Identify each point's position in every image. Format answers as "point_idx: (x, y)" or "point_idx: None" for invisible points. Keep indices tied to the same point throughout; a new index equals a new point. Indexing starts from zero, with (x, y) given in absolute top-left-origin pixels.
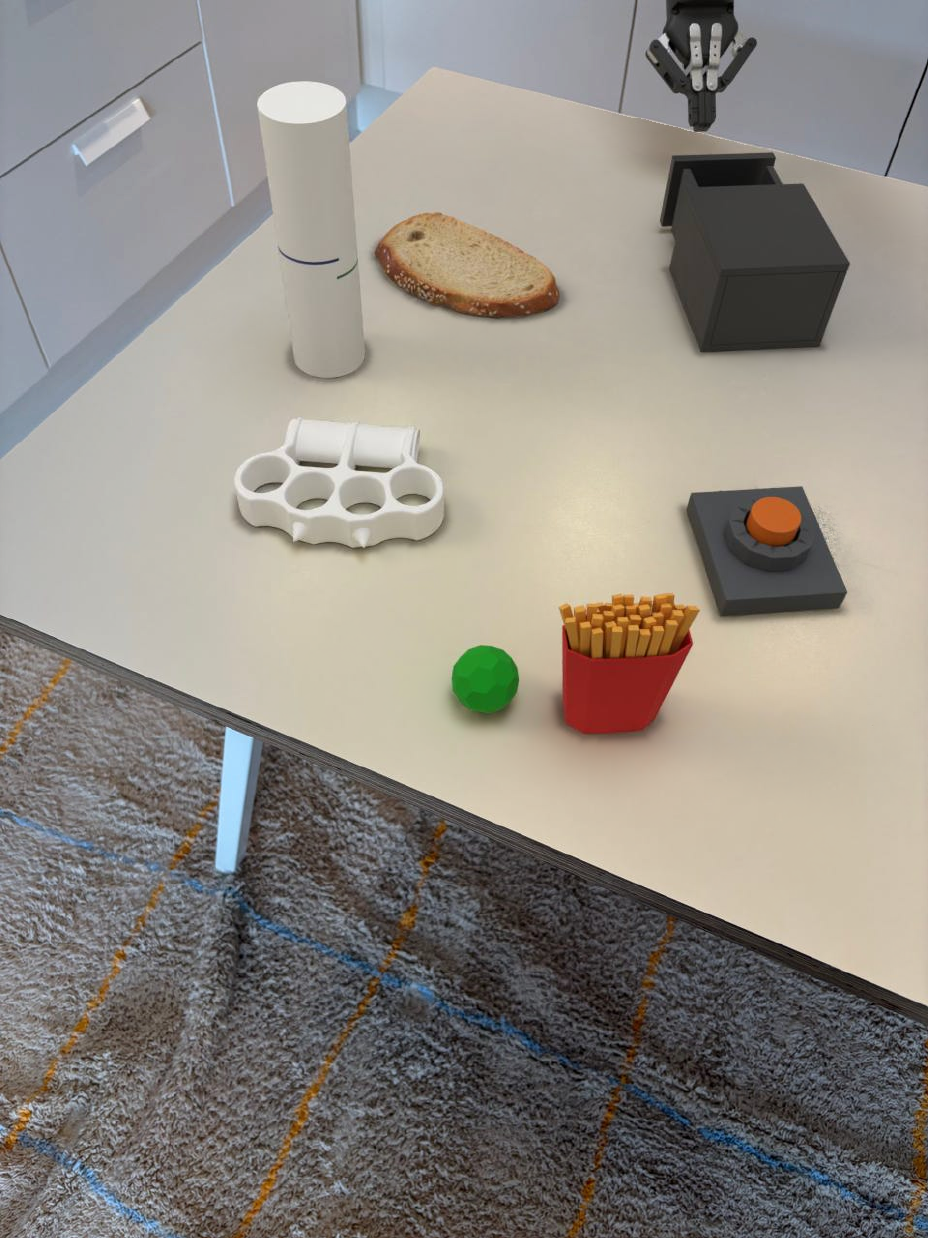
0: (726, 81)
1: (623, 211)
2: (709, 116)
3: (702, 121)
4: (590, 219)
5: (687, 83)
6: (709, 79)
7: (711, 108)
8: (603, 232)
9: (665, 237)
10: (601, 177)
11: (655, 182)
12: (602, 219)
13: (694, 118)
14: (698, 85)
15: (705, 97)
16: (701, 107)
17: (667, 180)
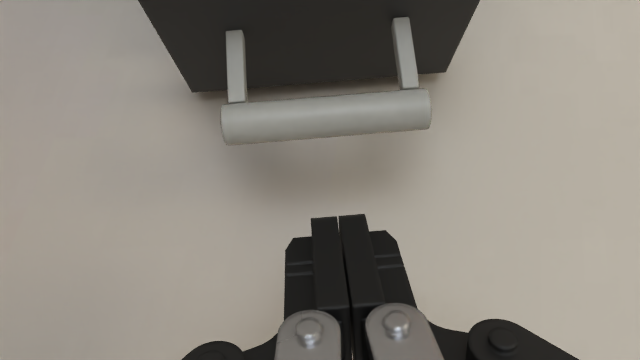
0: (220, 350)
1: (527, 155)
2: (319, 233)
3: (350, 219)
4: (613, 118)
5: (454, 355)
6: (328, 351)
7: (306, 273)
8: (577, 64)
9: None
10: (594, 334)
11: (431, 307)
12: (582, 118)
13: (385, 237)
14: (394, 315)
15: (343, 288)
16: (360, 255)
17: (477, 3)
